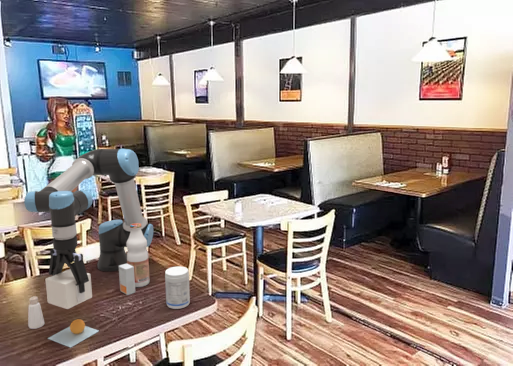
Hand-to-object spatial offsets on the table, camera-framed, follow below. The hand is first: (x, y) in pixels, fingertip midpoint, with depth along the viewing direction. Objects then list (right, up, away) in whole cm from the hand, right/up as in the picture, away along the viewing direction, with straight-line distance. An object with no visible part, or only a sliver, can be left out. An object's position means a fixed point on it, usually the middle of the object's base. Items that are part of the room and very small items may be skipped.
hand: (70, 297), depth 148 cm
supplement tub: (+33, -10, +25) cm, 43 cm away
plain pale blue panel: (0, -14, +3) cm, 14 cm away
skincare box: (+9, -8, +37) cm, 39 cm away
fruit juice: (+11, -6, +46) cm, 48 cm away
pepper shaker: (-17, -13, +9) cm, 23 cm away
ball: (+1, -11, +3) cm, 12 cm away
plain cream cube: (0, -1, 0) cm, 1 cm away
